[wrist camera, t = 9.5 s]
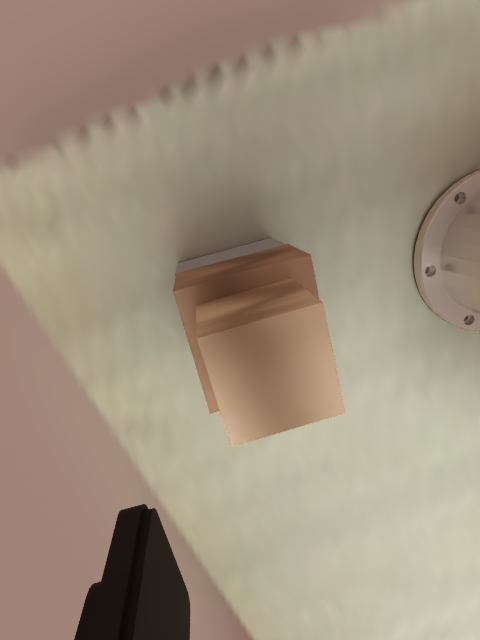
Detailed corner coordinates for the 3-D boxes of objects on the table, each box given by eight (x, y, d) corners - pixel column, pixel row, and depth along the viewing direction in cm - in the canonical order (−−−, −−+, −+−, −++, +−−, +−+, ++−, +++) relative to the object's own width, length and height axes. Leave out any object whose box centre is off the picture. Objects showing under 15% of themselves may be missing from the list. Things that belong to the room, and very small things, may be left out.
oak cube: (291, 278, 20) (322, 301, 16) (311, 366, 22) (345, 412, 17) (195, 305, 20) (197, 338, 15) (222, 392, 22) (231, 447, 17)
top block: (287, 244, 25) (310, 254, 20) (308, 347, 27) (334, 379, 22) (176, 273, 25) (173, 291, 20) (206, 375, 27) (210, 413, 22)
